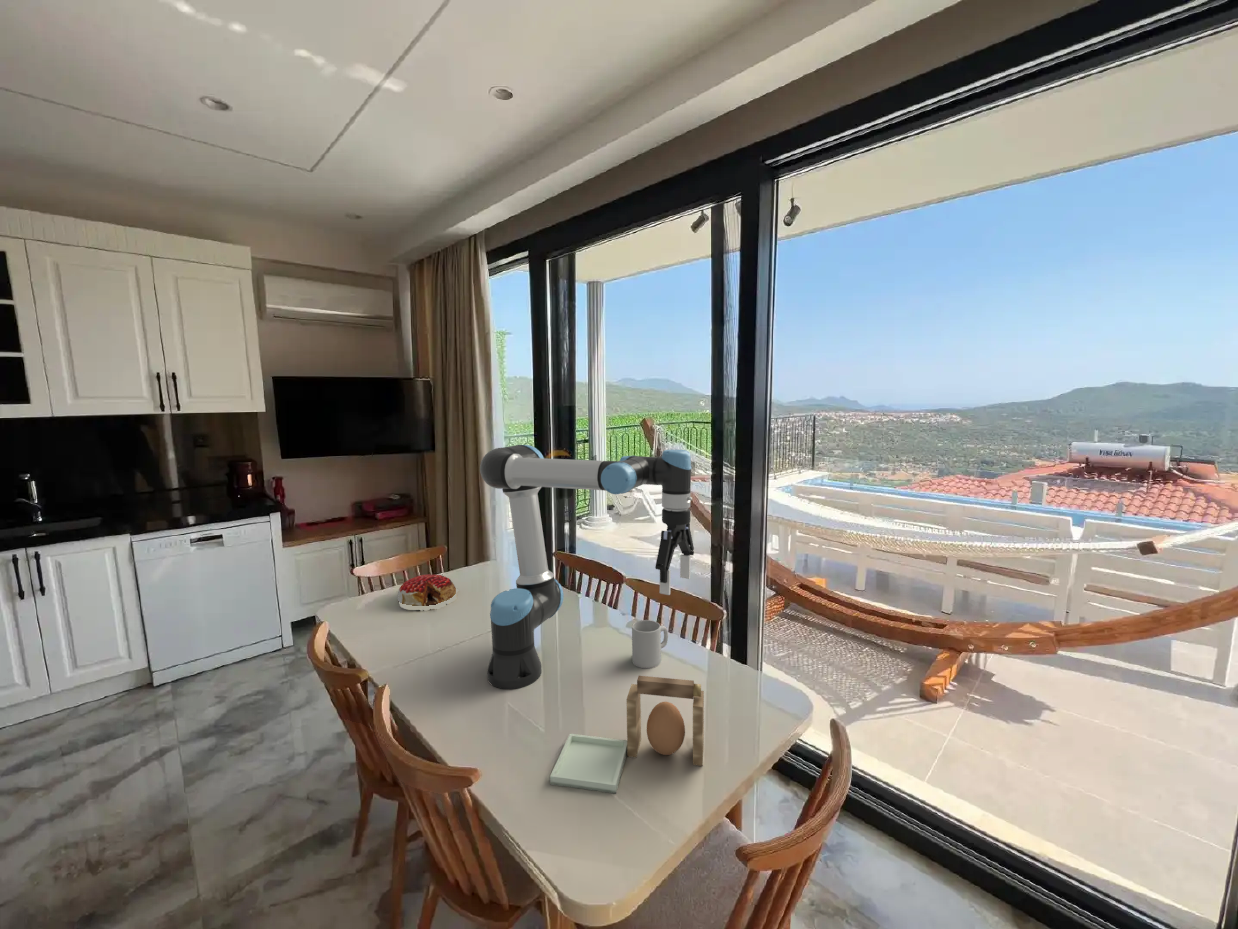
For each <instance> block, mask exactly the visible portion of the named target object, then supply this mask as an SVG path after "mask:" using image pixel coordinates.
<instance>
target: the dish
mask: <svg viewBox="0 0 1238 929" xmlns="http://www.w3.org/2000/svg"><path fill="white" fill-rule="evenodd" d="M626 757H627V739H620V738H619V739H618V738H609V737H600V736H595V735H593V736H592V735H585V734H577V733H569V735H568V737H567V739H566V741H565V743H564V745H563V747H562V750H561V752H560V754H559V756H558V759H557V761H556V763H555V765H554V767H553V769H552V772H551V773H550V776H549V780H550V785H553V786H560V787H567V788H575V789H581V790H588V791H592V792H593V791H594V792H602V793H609V794H617V790H618V788H619V787H618V786H619V784H620V780H621V777H622V773H623V769H624V765H625V762H626V759H627V758H626Z"/></svg>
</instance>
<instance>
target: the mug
mask: <svg viewBox="0 0 1238 929" xmlns="http://www.w3.org/2000/svg"><path fill="white" fill-rule="evenodd" d="M661 632H663V639H662V640H661V637H662V634H661ZM668 639H669V633H668V629H667V627H666V626H664V625H661V624H660V623H659V622H657V621H654V620H651V619H650V620H649V619H644V620H637V621H635V622H634V623H633V624H632V625H631V645H632V646H631V655H632V656H631V661H632V664H633V665H634V666H636V667H637V668H640V669H641V668H642V669H652V668H656V667H658V666H659V665H660V664H661V663H662V649H663V648H665V647H666V646H667V644H668Z"/></svg>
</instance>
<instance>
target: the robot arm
mask: <svg viewBox="0 0 1238 929" xmlns="http://www.w3.org/2000/svg"><path fill="white" fill-rule="evenodd" d="M691 459H692V458H691V453H690V451H689V450H686V449H665V450H663V451H662V454H661V456H642V455H641V456H640V455H639V456H638V455H624V456H621V457H620V459H619V460H617V461H616V460H595V459H594V460H593V459H592V460H589V459H567V458H565V459H564V458H545V457H544V455H543V454H542V452H541V451H540V450H539V449H538V448H536V447H534V446H532V445H529V444H517V445H511V446H504V447H496V448H493V449H491V450H490V451H488V452H486V454H485V455H484V456H483V457H482V459H481V461H480V466H479V472H480V475H481V479H482V480H483V481H484V482H485V484H487V485H488V486H489V487H491V488H493V489H499V490H502V494H504V495H505V496H507V498H508V501H509V508H510V509H509V510H510V515H511V522H512V529H513V534H514V535H513V536H514V541H515V542H514V543H515V550H516V556H517V563H518V570H519V576H518V577H517V578H516V579H515V584H516V588H510V589H509V590H504V591H502V592H499V593H498V594H497V595H495V597H494V598H493V599H492V600H491V603H490V613H489V617H490V623H491V624H490V627H491V642H492V643H491V644H492V646H491V648H492V653H491V656H490V660H489V663H488V666H487V669H486V670H487V676H486V677H487V682H488V681H489V682H490V683H491V684H492V685H491V684H490V683H489V682H488V683H489V684H490V685H491V686H493V687H495V688H497V687H498V689H501V690H502V689H503V690H513V689H521V688H524V687H527V686H529V685H531V684H533V683H535V682H536V681H537V680H538V679H539V678H541V676H542V672H543V671H542V663H541V660H540V657H539V653H538V652H537V649H536V647H535V629H537V628H538V627H539V626H541V625H542V624H543V623H544V622H546V621H547V620H549V619H550V618H553V616H555V614H556V613H557V612H558V611H559V610H560V609H561V607H562V605H563V603H564V597H565V596H564V589H563V586H562V585H561V583H559V581H558V580H557V579H555V574H554V572H552V571H551V570H549V566H548V560H547V559H548V558H547V552H546V546H545V538H544V532H543V525H542V524H543V523H542V518H541V510H540V502H539V495H538V493H539V491H540V490H541V489H542V488H554V489H558V488H559V489H573V490H574V489H575V490H592V491H605V492H607V493H609V494H611V495H623V494H626V493H628V492H630V491H632V490H634V489H635V488H638V487H641V486H642V485H648V486H649V485H652V486H653V485H654V486H661V488H662V489H661V507H662V508H661V522H662V523H663V524H664V525H666V526H667V527H666V530H661V533H660V541H659V547H658V552H657V557H656V563H655V565H654V566H655V567H654V568H655V570H658V571H659V594H661V595H666V596H670V595H671V578H672V577H671V576H672V575H671V574H672V573H671V571H672V570H671V569H670V567H671V563H672V559H673V557H674V554H675V553H674V552H675V550H676V548H677V547H679V550H680V552H681V554H680V556H679V559H680V562H679V564H680V566H679V567H680V568H679V571H680V572H679V574H680V575H679V577H680V579H681V578H682V579H687V580H690V579H691V556H694V554H695V552H694V550H695V548H694V542H693V537H692V533H691V532H692V531H691V509H690V507H691V501H693V497H691V495H692V494H691V492H692V491H691V490H692V488H691V486H692V469H693V468H692V463H691V461H692V460H691Z"/></svg>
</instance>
